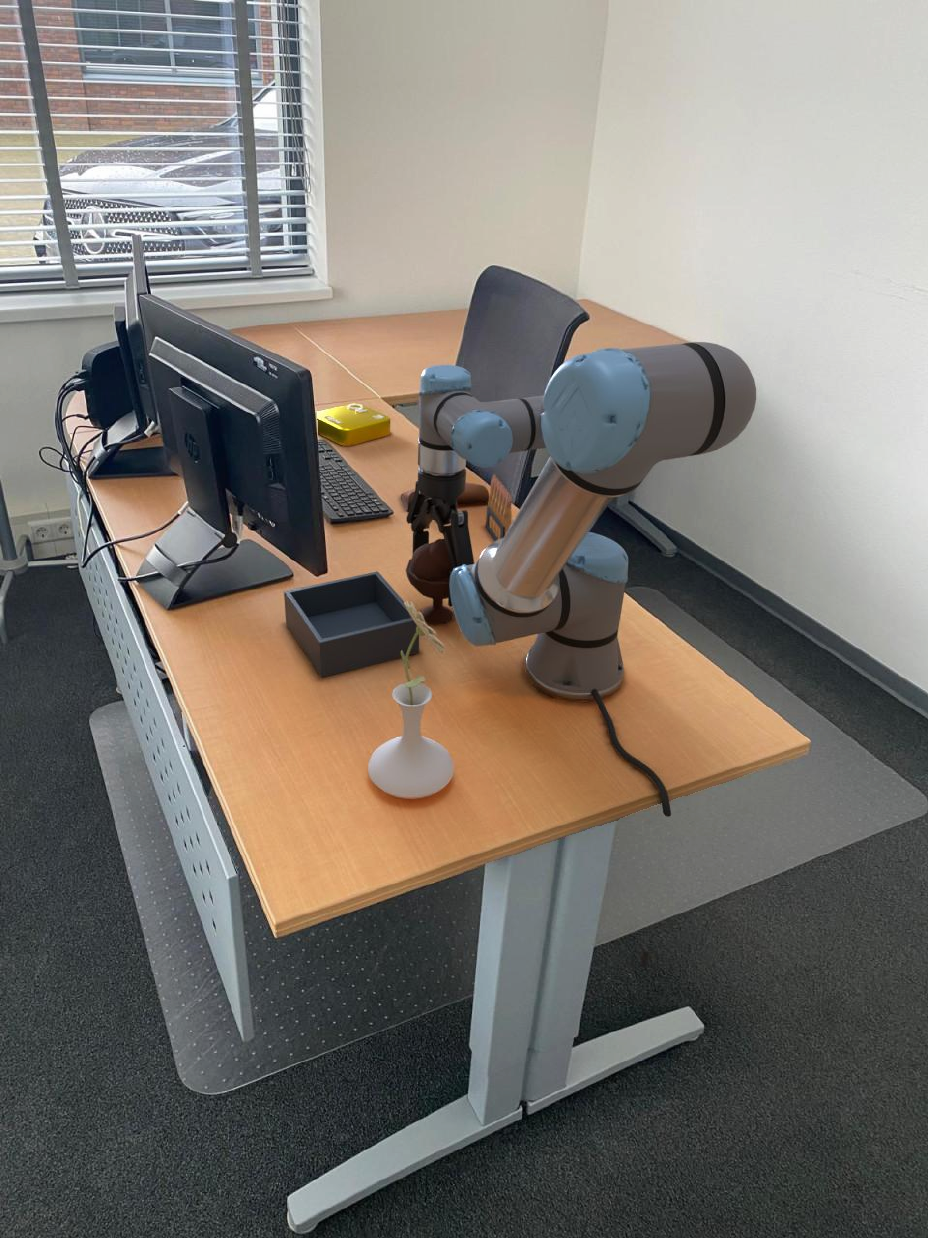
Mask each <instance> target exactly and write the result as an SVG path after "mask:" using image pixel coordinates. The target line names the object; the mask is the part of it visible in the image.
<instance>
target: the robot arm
mask: <svg viewBox="0 0 928 1238" xmlns="http://www.w3.org/2000/svg"><path fill="white" fill-rule="evenodd" d="M471 377H472V376H471V373H470V372H469V370H467V369H466V368H464V367H462V366H459V365H454V364H436V365H435V364H434V365H431V366H429V367H427V368H424V370H423V371H422V372H421V375H420V384H419V392H418V396H419V403H418V404H419V406H418V407H419V408H418V409H419V410H418V411H419V412H418V424H419V425H418V440H417V441H418V442H417V443H418V444H417V446H418V447H417V465H418V468H417V480H416V481H415V486H414V487H415V488H414V489H415V493H414V496H413V499H412V502H411V506H410V508H409V509H408V512H407V515H406V523H407V524H408V525H409V524H410V529H411V532H412V553H411V554H412V555H413V553H414V552H415V550H416V549H418V548H419V547H420V546H422V545H424V544H430V532H429V531H428V530H429V529H430V528H431V527H430V525H431V523H432V522H433V521H434V522H435V523H436V526H437V529H438V532H439V533H441V534H442V536H443V539H444V540H445V544H446V547H447V551H448V555H449V558H450V562H451V565H452V569H453V570H450V571H449V593H448V598H447V605H448V607H449V608H452V610H453V615H454V617H455V621H456V623H457V625H458V628H459V629H460V632H461V634H462V636H463V637H464V638H465V640H466V641H467V642H468V643H469V644H470V645H472V646H473V647H474V646H475V647H484V646H485V647H486V646H496V644H499V643H504V642H508V641H513V640H518V639H522V638H526V637H531V636H535V635H536V637H535V639H534V642H533V644H532V645H531V646H530V648H529V650H528V652H527V655H526V658H525V668H524V669H525V674H526V678H527V679H528V680H529V681H530V683H531V684H532V686H534V687H535V688H536V689H538V690H539V691H541V692H542V693H544V694H546V695H548V696H550V697H553V698H556V699H559V700H564V701H569V702H579V703H580V702H585V703H586V702H595V703H596V705H597V708H598V709H599V712H600V714H601V716H602V718H603V720H604V722H605V725H606V728H607V732H608V736H609V739H610V742H611V744H612V746H613V748H614V749H615V751H616V752H617V753H618V754H619V755H620V756H621V757H622V758H623V759H624V760H625V761H627V762H628V763H629V764H631V765H632V766H634V767H635V768H637V769H638V770H640V771H642V772H643V773H644V774H645V775H647V777H649V779H651V781H652V782H653V783H654V785H655V787H656V788H657V790H658V793H659V797H660V802H661V806H662V813H663V815H664V816H665V817H667V818H669V817H671V816H672V811H671V803H670V799H669V793H668V791H667V788H666V786H665V784H664V782H663V781H662V780H661V778H660V777H659V776H658V775H657V773H656V772H655V771H654V770H653V769H652V768H650V767H649V766H648V765H646V764H645V763H644V762H642V761H641V760H639V759H638V758H637V757H635V756H633V755H631V753H629V752H628V751H627V750H626V749H625V748H624V747H623V746H622V745H621V743H620V741H619V739H618V736H617V733H616V728H615V725H614V723H613V720H612V717H611V715H610V713H609V711H608V709H607V707H606V705H605V703H604V701H603V699H605V698H608V697H611V695H613V694H615V693H616V692H617V691H618V689H620V688H621V685H622V684H623V678H624V672H625V667H624V661H623V657H622V652H621V646H620V642H619V638H618V637H619V636H618V635H619V627H620V621H621V616H622V610H623V609H622V608H623V603H624V597H625V590H626V585H627V582H628V580H629V577H628V576H629V575H628V573H629V572H628V571H629V556H628V554H627V551H626V550H625V549H624V548H623V547H622V546H621V545H620V544H619V543H618V542H616V541H614V540H613V539H611V538H610V537H606V536H605V535H602V534H598V533H595V532H591V529H592V528H593V527H594V525H595V524H596V523H597V521H598V520H599V518H600V517H601V515H602V514H603V513H604V511H605V510H606V509H607V507H608V506H609V504H610V503H611V502H612V501H613V499H614V498H618V497H622V496H625V495H628V494H630V493H631V492H633V491H635V490H636V489H637V488H638V487H640V485H641V484H642V483H643V481H644V480H645V478H646V477H648V474H649V473H650V472H651V470H652V469H653V468H654V467H655V466H656V465H657V464H659V463H660V462H663V461H668V460H675V459H681V458H686V457H692V456H693V457H694V456H700V455H704V454H708V453H712V452H714V451H718V450H720V449H721V448H723V447H725V446H727V445H729V444H730V443H732V442H733V441H735V440H736V439H737V438H739V436H740V435H741V434H742V433H743V432H744V430H745V429H746V428H747V426H748V424H749V423H750V421H751V420H752V416H753V414H754V412H755V408H756V403H757V386H756V382H755V378H754V376H753V374H752V372H751V369H750V367H749V365H748V364H747V363H746V362H745V361H744V359H743V358H742V357H741V356H740V355H739V354H737V353H736V352H735V351H733V350H732V349H730V348H728V347H726V346H723V345H720V344H717V343H712V342H708V341H707V342H706V341H691V342H684V343H672V344H662V345H653V346H643V347H633V348H624V349H621V348H614V347H613V348H612V347H607V348H601V349H596V350H594V351H591V352H587V353H581V354H577V355H574V356H572V357H571V358H568V359H567V360H565V361H564V362H563V363H562V364H561V365H560V366H559V367H558V368H557V369H555V371H554V373H553V375H552V376H551V377H550V379H549V381H548V384H547V386H546V388H545V392H544V394H543V395H536V396H529V397H522V398H521V397H520V398H512V399H511V398H510V399H502V400H493V401H484V402H482V401H479V399H477V398H475V397H474V396H473V395H472V394H471V393H472V390H473V386H472V378H471ZM540 449H546V450H547V453H548V455H549V458H548V459H547V461H546V463H545V465H544V466H543V468H542V469H541V471H540V473H539V474H538V477H537V479H536V480H535V482H534V484H533V486H532V487H531V489H530V491H529V493H528V494H527V496H526V498H525V499H524V501H523V503H522V505H521V506H520V508H519V510H518V512H517V514H516V515H515V517H514V519H513V520H512V521H511V526H510V528H509V529H508V531H507V533H506V535H505V536H504V538H502V539H499V540H496V541H494V540H493V541H492V542H491V543H489V544H488V545H487V546H486V547H485V549H484V550H483V551H482V552H481V554H480V556H479V558H478V559H477V561H476V562H475V558H474V552H473V547H472V540H471V535H470V529H469V512H468V510H466V509H464V510H459V507H458V506H459V505H458V503H457V499H458V497H459V496H460V495H462V494H463V492H464V491H465V483H467V482H466V481H467V470H466V467H467V462H469V463H470V464H471V465H473V466H475V467H477V468H481V469H488V468H493V467H495V466H497V465H498V464H500V463H501V462H503V461H504V460H505V459H506V458H507V457H508V456H509V454H512V453H518V452H520V453H521V452H526V451H533V450H540ZM412 555H411V556H412ZM650 953H651V951H642V953H641V958H640V963H639V966H640V967H641V968H642V969H646V968H647V967H648V962H649V957H650Z"/></svg>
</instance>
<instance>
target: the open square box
mask: <svg viewBox="0 0 928 1238" xmlns="http://www.w3.org/2000/svg"><path fill="white" fill-rule="evenodd" d="M283 598H284V599H283V600H284V614H285V625H286V627H287V628H288V630H289V631H290V633H291V634H292V636H293V637H294V639H295V640H296V641H297V643H298V645H299V646H300V648H301V649H302V651H303V652H304V654H305V656H306V657H307V658H308V660H309V661H310V663H311V664H312V667H313V668H314V669H315V670H316V672H317V673H318V675H319V677H320V678H327V677H330V676H334V675H338V674H341V673H345V672H349V671H354V670H357V669H361V668H365V667H368V666H372V665H376V664H380V663H384V662H389V661H392V660H396V659H400V658H402V656H401V651H403V653H404V655H405V656H406V653H407V650H408V648H409V645H410V643H411V641H412V639H413V637H414V635H415V633H416V628H417V625H416V623H415V622H414V620H413V619H412V617H411V616H410V614H409V612H408V611H407V609H406V607H405V604H404V602H405V601H404V599H403V598H402V597H401V596H400V594H398V592H396V591H395V589H394V588H393V587H392V586H391V585H390V584H389V582H388V581H387V580H386V579H385V578H384V577H383V575H382V574H381V573H379V571H373V572H367V573H364V574H359V575H353V576H349V577H345V578H340V579H335V580H331V581H326V582H321V583H317V584H311V585H307V586H302V587H297V588H293V589H288V590H284V591H283ZM419 653H420V635H418V636H417V637H416V639H415V641H414V643H413V646H412V648H411V650H410V653H409V655H408V656H410V655H415V654H419Z"/></svg>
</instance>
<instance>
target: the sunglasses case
mask: <svg viewBox="0 0 928 1238" xmlns="http://www.w3.org/2000/svg"><path fill="white" fill-rule="evenodd" d="M414 493H415V488H414V489H410V490H407V491H405V492H402V493H401V494H400V499H401V502H402V504H403V506H404V508H405V510H406V511H409V509H410V506H411V502H412V499H413V496H414ZM489 493H490V491H489V490H488V488H487V487H486V486H485V485H482V484H478V483H473V482H466V483H465V491H464V492H463V494H462V495H460V496H459V497H458V499H457V504H458V503H460V504H461V503H462V504H466V503H475V502H486V503H489Z"/></svg>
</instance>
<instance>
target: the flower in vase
mask: <svg viewBox="0 0 928 1238" xmlns="http://www.w3.org/2000/svg"><path fill="white" fill-rule="evenodd" d="M404 604H405V607H406V609H407V611H408V612H409V614H410V616H411V617H412V619H413V620H414V622H415V623H416V625H417V628H416V633H415V635H414V637H413V639H412V641H411V643H410V645H409V648H408V650H407V653H406V656H405V655H404V653H403V651H401V656H402V657H401V659H402V661H403V663H404V669H405V676H406V681H407V682H404V683H401V684H399V685H398V686H396V687H395V688H394V689H393V690H392V694H391V696H392V699H393V700H394V701H395V702H396V703H397V704H398V706H399V708H400V711H401V716H402V725H403V726H402V734H401V735H399V736H396V737H393V738H391V739H389V740H387V741H385V742H384V743H382V744H381V745H379V746H378V747H377V748H376V749H375V750H374V751H373V753H372V755H371V756H370V759H369V760H368V765H367V772H368V777H369V778H370V780H371V781H372V783H373V784H374V785H375V786H376V787H377V788H378V789H379V790H381V791H382V792H383V793H385V794H387V795H389V796H392V797H395V798H400V799H408V800H409V799H410V800H413V799H415V800H417V799H424V798H427V797H430V796H433V795H435V794H437V793H438V792H440V791H441V790H442V789H444V788H445V787H446V786H447V785H448V784H449V783H450V782H451V780H452V778H453V776H454V774H455V773H454V772H455V764H454V761H453V758H452V756H451V754H450V753H449V751H448V750H447V749H446V747H444V746H443V745H442V744H440V743H438V742H437V741H435V740H433V739H431V738H429V737H426V736H422V731H421V725H422V724H421V723H422V715H423V712H424V709H425V706H426V705H427V704H428V703H430V702H431V700H432V698H433V691H432V690H431V688H430V687H428V686H427V685H426V684H423V683H424V682H425V681H426V678H425V677H424V676H418V677H415V678H413V679H412V680H411V679H410V673H409V670H411V665H410V663H409V656H410V655H409V653H410V650H411V648H412V646H413V643H414V641H415V639H416V637H417V636H418V635H419V636H422V637H423V636H424V637H425V638H426V640H427V641H428V642H429V643H430V644H431V646H433V647H434V649H436V651H437V652H438V653H439V654H440V655H442V656H444V655H445V653H446V651H445V648H446V646H445V645H444V643H443V642H441V641H440V640H439V639H438V638H437V637H436V636H437V632H436V631H435V630H434V628H432V627H430V626H428V624H427V622H426V621H425V620H424V617H423V615H422V612H421V611H420V610H419V611H418V610H417V609H416V606H415V605H414V603H413V602H412V601H411V600H410V601H409V602H408V600H406V601H404Z"/></svg>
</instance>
